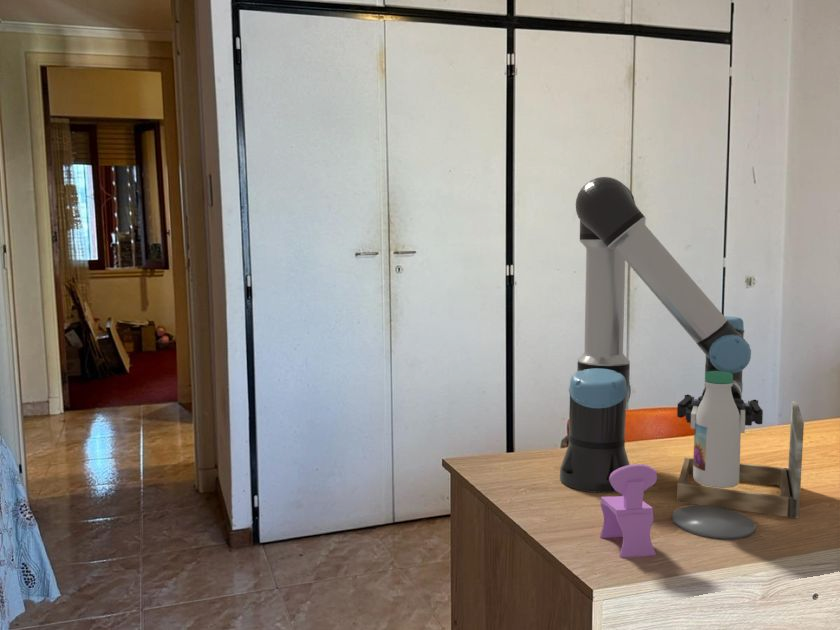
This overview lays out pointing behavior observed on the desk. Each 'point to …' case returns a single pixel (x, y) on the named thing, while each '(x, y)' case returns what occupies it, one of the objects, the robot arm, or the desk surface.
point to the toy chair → (630, 510)
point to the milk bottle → (717, 434)
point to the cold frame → (755, 473)
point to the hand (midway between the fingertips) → (717, 423)
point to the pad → (713, 522)
